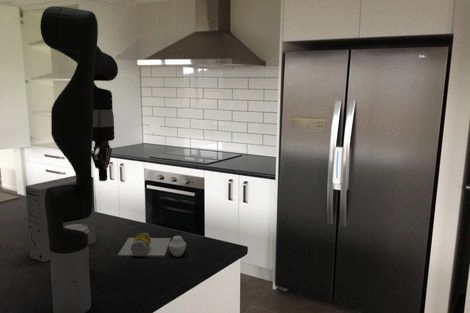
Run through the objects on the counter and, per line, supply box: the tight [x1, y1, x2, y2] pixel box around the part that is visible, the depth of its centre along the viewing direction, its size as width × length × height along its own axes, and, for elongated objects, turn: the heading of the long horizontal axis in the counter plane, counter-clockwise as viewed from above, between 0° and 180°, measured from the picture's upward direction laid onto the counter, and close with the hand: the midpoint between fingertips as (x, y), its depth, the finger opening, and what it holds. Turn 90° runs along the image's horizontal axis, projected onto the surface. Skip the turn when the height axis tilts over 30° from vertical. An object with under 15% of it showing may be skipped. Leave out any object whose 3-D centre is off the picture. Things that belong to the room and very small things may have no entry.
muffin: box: [168, 235, 187, 258], centre depth 144 cm, size 6×6×7 cm
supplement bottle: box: [131, 232, 151, 257], centre depth 146 cm, size 6×6×10 cm
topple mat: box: [117, 237, 172, 257], centre depth 150 cm, size 16×16×1 cm
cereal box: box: [25, 174, 97, 263], centre depth 145 cm, size 22×8×25 cm, turn 149°
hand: (103, 180), depth 127 cm, fingers closed
